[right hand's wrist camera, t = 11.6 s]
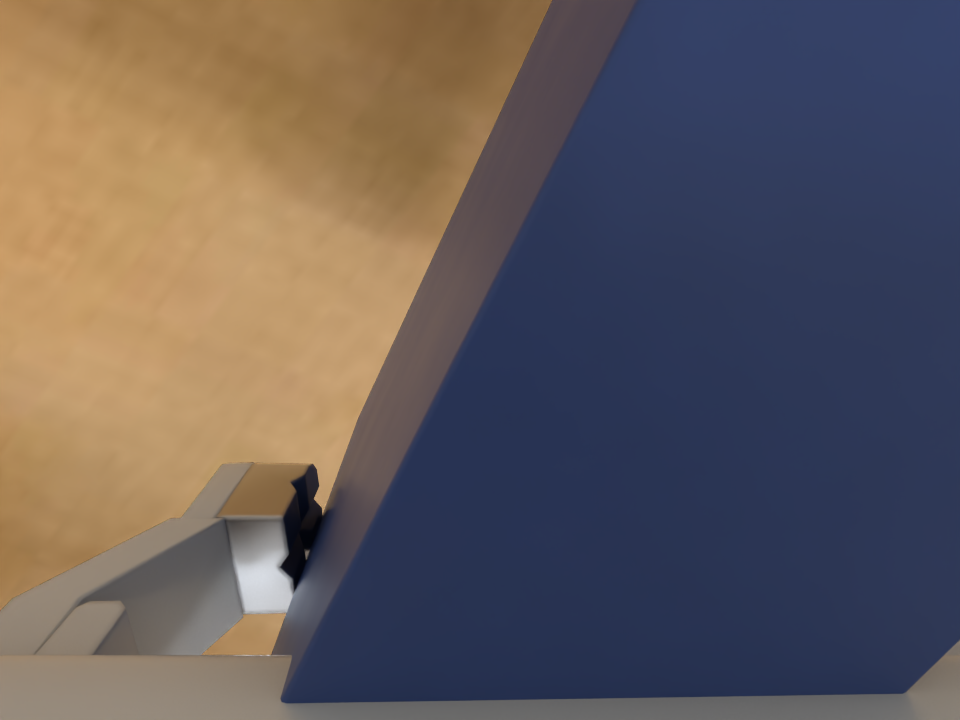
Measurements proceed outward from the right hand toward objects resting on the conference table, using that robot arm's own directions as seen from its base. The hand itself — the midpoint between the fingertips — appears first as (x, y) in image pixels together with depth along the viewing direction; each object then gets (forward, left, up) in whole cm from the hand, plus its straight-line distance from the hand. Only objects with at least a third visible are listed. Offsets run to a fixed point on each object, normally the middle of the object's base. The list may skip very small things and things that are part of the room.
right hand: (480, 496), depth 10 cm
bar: (+6, +10, -4) cm, 12 cm away
